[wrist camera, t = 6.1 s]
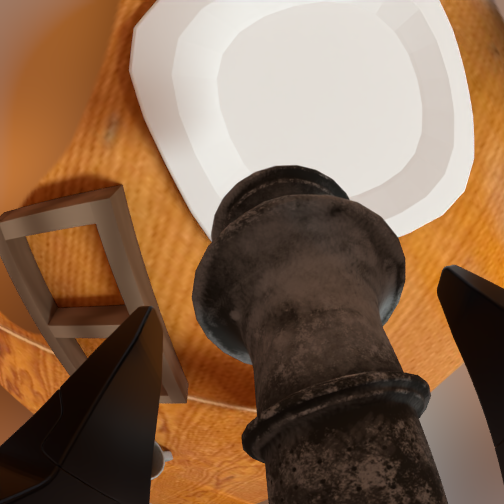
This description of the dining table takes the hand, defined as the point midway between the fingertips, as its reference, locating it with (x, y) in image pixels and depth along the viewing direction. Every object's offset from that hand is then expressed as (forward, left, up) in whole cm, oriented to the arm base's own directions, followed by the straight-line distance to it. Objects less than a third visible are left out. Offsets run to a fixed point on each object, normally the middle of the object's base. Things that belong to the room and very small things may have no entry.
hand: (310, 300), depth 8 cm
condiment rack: (+16, +11, -13) cm, 23 cm away
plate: (-4, -4, -14) cm, 15 cm away
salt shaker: (0, 0, -4) cm, 4 cm away
